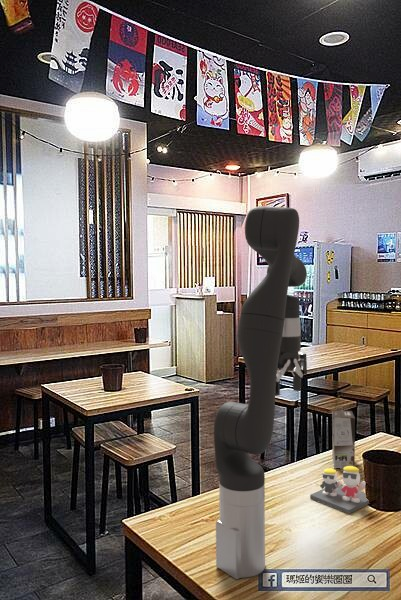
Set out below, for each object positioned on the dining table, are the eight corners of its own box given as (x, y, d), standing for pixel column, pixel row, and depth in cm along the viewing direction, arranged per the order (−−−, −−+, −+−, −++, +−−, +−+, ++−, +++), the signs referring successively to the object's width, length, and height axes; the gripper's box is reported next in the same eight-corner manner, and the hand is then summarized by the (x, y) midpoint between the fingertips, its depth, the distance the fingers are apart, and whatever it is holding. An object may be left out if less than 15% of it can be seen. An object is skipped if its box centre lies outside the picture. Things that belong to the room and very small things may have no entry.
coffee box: (355, 470, 155) (355, 418, 154) (333, 468, 156) (333, 417, 156) (352, 459, 164) (352, 410, 163) (332, 458, 165) (331, 409, 165)
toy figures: (317, 493, 136) (317, 462, 136) (324, 487, 140) (324, 458, 139) (361, 505, 129) (361, 472, 128) (367, 499, 132) (367, 467, 132)
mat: (349, 513, 126) (349, 510, 126) (310, 498, 135) (310, 494, 135) (375, 500, 134) (375, 496, 134) (337, 486, 143) (337, 482, 143)
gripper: (278, 337, 131) (278, 399, 132) (314, 333, 140) (314, 391, 141) (258, 334, 137) (258, 394, 138) (293, 331, 146) (293, 387, 147)
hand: (286, 392), depth 139 cm, fingers open, 8 cm apart
